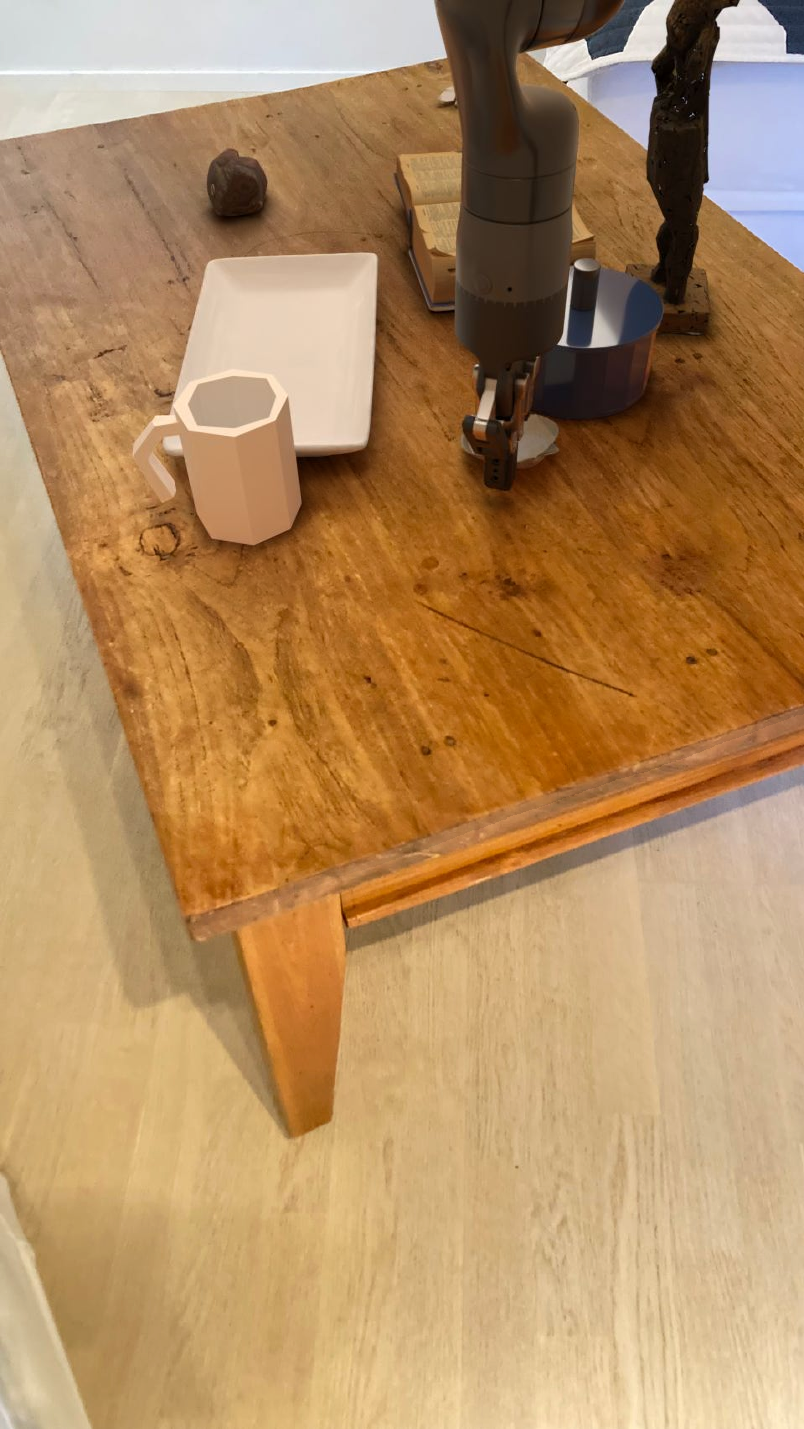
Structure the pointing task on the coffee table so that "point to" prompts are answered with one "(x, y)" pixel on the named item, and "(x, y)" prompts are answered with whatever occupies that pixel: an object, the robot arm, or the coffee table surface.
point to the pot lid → (607, 310)
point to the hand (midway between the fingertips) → (499, 484)
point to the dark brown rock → (236, 184)
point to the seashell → (529, 441)
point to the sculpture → (681, 160)
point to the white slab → (293, 340)
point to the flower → (447, 95)
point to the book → (448, 222)
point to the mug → (230, 455)
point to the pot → (592, 381)
